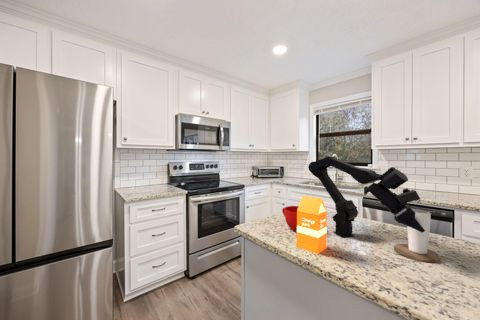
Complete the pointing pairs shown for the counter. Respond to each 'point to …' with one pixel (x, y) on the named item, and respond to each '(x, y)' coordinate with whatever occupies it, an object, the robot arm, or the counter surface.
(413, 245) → the white tapered cylinder
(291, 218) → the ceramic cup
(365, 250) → the counter surface
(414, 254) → the walnut coaster
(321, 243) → the orange juice
